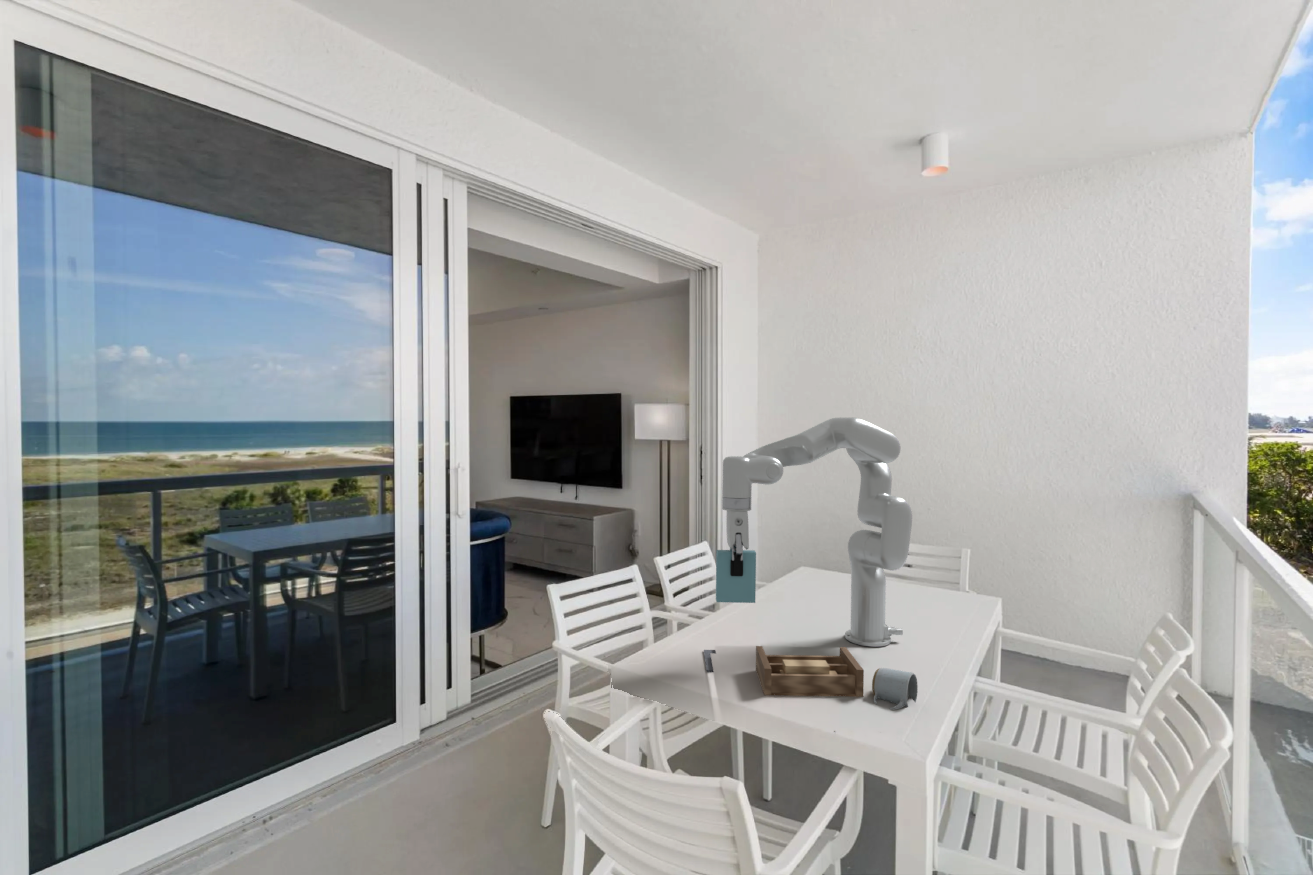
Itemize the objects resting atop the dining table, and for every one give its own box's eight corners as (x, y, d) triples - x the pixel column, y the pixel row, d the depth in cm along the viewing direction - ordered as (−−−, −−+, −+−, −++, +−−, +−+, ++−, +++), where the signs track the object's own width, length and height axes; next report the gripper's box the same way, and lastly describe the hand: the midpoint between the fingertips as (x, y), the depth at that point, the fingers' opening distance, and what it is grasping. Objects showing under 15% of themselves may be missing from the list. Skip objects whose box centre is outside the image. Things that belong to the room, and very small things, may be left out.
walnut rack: (845, 677, 151) (845, 647, 151) (863, 703, 137) (863, 669, 137) (755, 675, 152) (756, 645, 152) (764, 701, 138) (764, 668, 138)
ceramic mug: (881, 692, 143) (881, 659, 143) (918, 702, 138) (918, 668, 138) (865, 709, 135) (865, 675, 134) (903, 721, 130) (903, 685, 129)
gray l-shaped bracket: (762, 652, 168) (762, 650, 168) (770, 672, 154) (770, 670, 154) (703, 651, 168) (703, 649, 168) (706, 672, 154) (706, 670, 154)
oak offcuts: (835, 683, 144) (835, 660, 144) (839, 690, 140) (839, 666, 140) (779, 682, 145) (779, 659, 144) (782, 689, 141) (782, 665, 140)
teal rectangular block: (753, 599, 162) (754, 550, 162) (755, 602, 159) (756, 552, 159) (715, 598, 162) (716, 549, 162) (716, 602, 159) (717, 552, 159)
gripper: (755, 508, 152) (754, 582, 152) (747, 500, 168) (746, 567, 169) (725, 507, 152) (724, 581, 152) (719, 499, 168) (719, 566, 169)
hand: (735, 573), depth 160 cm, fingers closed on teal rectangular block, 3 cm apart
